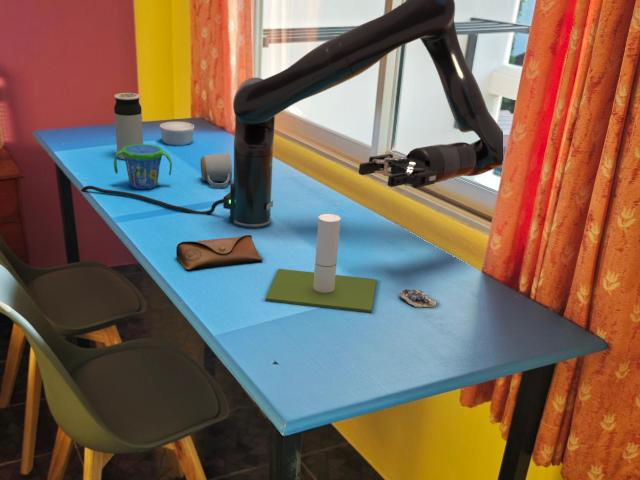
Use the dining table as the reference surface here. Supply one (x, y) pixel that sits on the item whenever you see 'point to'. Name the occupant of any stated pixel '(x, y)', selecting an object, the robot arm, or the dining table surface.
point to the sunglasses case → (217, 252)
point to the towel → (300, 291)
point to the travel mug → (128, 121)
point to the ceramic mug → (216, 169)
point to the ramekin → (177, 133)
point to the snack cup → (142, 164)
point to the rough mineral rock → (417, 298)
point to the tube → (326, 252)
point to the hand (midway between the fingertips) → (374, 175)
